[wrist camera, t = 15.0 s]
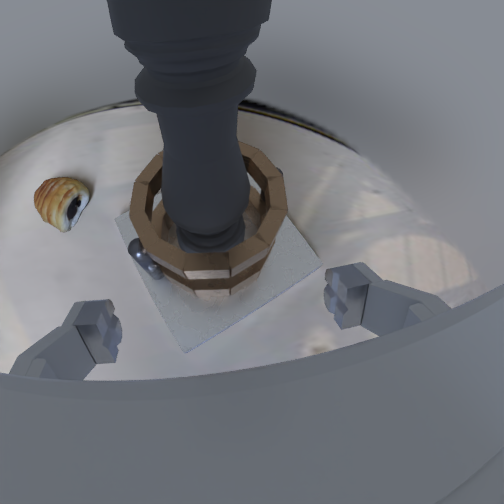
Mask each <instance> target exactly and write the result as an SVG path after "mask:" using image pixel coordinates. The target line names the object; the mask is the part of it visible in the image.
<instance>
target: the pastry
mask: <svg viewBox="0 0 504 504" xmlns="http://www.w3.org/2000/svg"><path fill="white" fill-rule="evenodd" d="M89 195H90V194H89V191H88V188H87V187H85V185H84V184H83V183H81V182H79V181H78V180H75V179H71V178H68V177H62V178H59V177H58V178H51V179H48V180H45V181H44V182H43V184H41V186H40V187H39V188H38V189H37V190H36V191H35V194H34V203H35V208H36V209H37V211H38V212H39V214H40V215H41V217H42V219H43V221H44V222H47V223H49V224H51V225H52V226H54V227H56V228H57V229H59V230H60V232H67V231H70V230H71V228H72V227H74V225H75V224H76V222H77V221H78V218H79V216H80V214H81V211H82V210H83V209H84V208H85V206H86V205H87V203H88V201H89Z"/></svg>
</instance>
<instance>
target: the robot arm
mask: <svg viewBox="0 0 504 504" xmlns="http://www.w3.org/2000/svg"><path fill="white" fill-rule="evenodd" d="M325 280H326V281H327V283H328V284H327V286H326V287H325V289H324V301H325V305H326V308H327V309H328V311H329V312H330V313H333V314H335V315H334V320H335V321H336V323H337V324H338V326H339V327H340V329H341V330H342V329H346V328H351V327H355V326H359V325H361V326H362V327H364V328H366V329H367V330H369V331H371V332H373V333H374V334H376V335H378V336H379V337H376V338H373V339H370V340H367V341H364V342H360V343H357V344H354V345H350V346H347V347H343V348H339V349H336V350H332V351H328V352H324V353H320V354H316V355H312V356H308V357H304V358H300V359H295V360H291V361H286V362H281V363H276V364H271V365H266V366H260V367H255V368H249V369H243V370H237V371H230V372H223V373H216V374H208V375H199V376H190V377H179V378H167V379H152V380H129V381H84V378H85V377H86V376H87V375H88V374H89V373H90V371H91V370H92V369H93V368H94V367H95V366H96V364H103V363H115V362H116V358H117V354H118V351H119V350H118V348H117V345H118V344H119V343H120V342H121V339H122V327H121V323H120V321H119V318H118V317H116V316H115V315H114V314H113V313H114V310H115V308H114V306H113V303H112V301H111V300H109V299H105V300H93V301H81V302H76V303H74V305H73V306H72V308H71V310H70V312H69V313H68V315H67V317H66V319H65V320H64V322H63V324H62V326H60V327H57V328H56V329H54V330H53V331H51V332H50V333H49V334H47V335H46V336H44V337H43V338H42V339H40V340H39V341H38V342H36V343H35V344H34V345H32V346H31V347H30V348H28V349H27V350H26V351H24V352H23V353H22V354H20V355H19V356H18V357H17V359H16V361H15V363H14V365H13V367H12V369H11V370H10V372H9V374H6V373H0V504H504V284H503V285H500V286H498V287H497V288H494V289H493V290H491V291H489V292H487V293H485V294H483V295H481V296H479V297H477V298H475V299H473V300H471V301H468V302H466V303H464V304H462V305H460V306H458V307H455V308H453V309H451V308H450V307H449V306H448V305H447V304H446V303H445V302H444V301H442V300H441V299H440V298H439V297H438V296H436V295H433V294H430V293H427V292H423V291H420V290H417V289H414V288H411V287H408V286H404V285H401V284H398V283H395V282H392V281H388V280H384V281H383V280H382V279H381V278H380V277H379V276H378V275H377V274H376V273H375V272H373V271H372V270H371V269H370V268H369V267H368V266H367V265H366V264H364V263H363V262H359V263H354V264H350V265H345V266H340V267H335V268H330V269H327V270H326V273H325Z"/></svg>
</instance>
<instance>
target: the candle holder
mask: <svg viewBox="0 0 504 504" xmlns="http://www.w3.org/2000/svg"><path fill="white" fill-rule="evenodd" d="M107 2H108V8H109V13H110V18H111V23H112V27H113V32H114V35H116V36H118V37H119V38H121V39H122V40H124V41H125V44H124V45H125V48H126V49H127V50H128V51H129V52H130V53H132V54H133V55H135V56H136V57H137V58H138V60H139V62H140V63H141V64H142V65H143V66H144V68H143V69H142V71H141V72H140V73H139V75H138V76H137V78H136V79H135V94H136V97H137V99H138V100H139V101H140V102H141V103H142V104H143V105H144V107H145V108H146V109H147V110H148V111H151V112H154V113H157V117H158V121H159V126H160V130H161V134H162V138H163V142H164V149H163V165H162V183H161V194H162V201H163V206H164V209H165V211H166V212H167V214H168V215H169V217H170V218H171V219H172V221H173V222H174V223H175V224H176V227H177V228H176V234H177V239H178V244H179V246H180V248H181V250H183V251H185V252H186V253H213V252H226V251H228V250H230V249H231V248H233V247H235V246H236V245H238V244H240V243H242V242H243V241H244V236H245V227H246V226H245V223H244V219H243V215H242V214H243V213H244V211H245V209H246V208H247V206H248V203H249V195H250V187H251V185H250V182H249V178H248V175H247V171H246V168H245V164H244V161H243V157H242V154H241V150H240V147H239V143H238V139H237V136H236V132H237V114H238V104H239V103H240V102H241V101H242V100H243V99H244V98H245V97H247V96H248V95H249V94H250V93H251V91H252V90H253V87H254V82H255V77H256V69H255V67H254V66H253V64H252V63H251V61H250V60H249V59H248V58H246V56H244V55H245V54H246V51H247V48H248V46H249V45H250V44H251V43H252V42H254V41H255V40H256V39H257V37H258V36H259V31H260V28H261V24H262V23H264V22H266V21H268V19H269V15H270V8H271V2H272V0H107Z"/></svg>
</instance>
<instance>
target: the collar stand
mask: <svg viewBox="0 0 504 504" xmlns="http://www.w3.org/2000/svg"><path fill="white" fill-rule="evenodd" d="M238 143H239V147H240V150H241V154H242V157H243V161H244V164H245V168H246V171H247V175H248V178H249V182H250V185H251V187H250V195H249V203H248V206H247V208H246V209H245V211H244V213H243V214H242V215H243V219H244V223H245V226H246V227H245V236H244V241H243V242H242V243H240V244H238V245H236V246H235V247H233V248H231V249H230V250H228V251H226V252H213V253H186V252H185V251H183V250H181V248H180V246H179V244H178V239H177V234H176V228H177V227H176V224H175V223H174V222H173V221H172V219H171V218H170V217H169V215H168V214H167V212H166V211H165V209H164V206H163V201H162V194H161V193H159V194H157V193H158V191H159V190H160V189H161V183H162V165H163V151H162V152H160V153H158V154H159V155H156V156H155V157H154V158H153V159H152V160H151V162H150V163H149V164H148V165H147V166H146V168H145V169H144V170H143V171H142V172H141V174H140V175H139V176H138V177H137V179H136V180H135V181H136V182H134V187H133V192H132V198H131V205H130V210H129V211H127V212H125V213H124V214H122V215H120V216H119V217H117V218H115V222H116V224H117V226H118V229H119V231H120V233H121V235H122V238H123V240H124V242H125V244H126V247H127V249H128V252H129V254H130V255H131V257H132V259H133V261H134V264H135V266H136V268H137V270H138V272H139V274H140V276H141V278H142V280H143V282H144V284H145V286H146V288H147V289H148V291H149V293H150V295H151V297H152V299H153V301H154V303H155V304H156V306H157V308H158V310H159V312H160V314H161V315H162V317H163V319H164V321H165V322H166V324H167V326H168V328H169V329H170V331H171V333H172V334H173V336H174V338H175V339H176V341H177V343H178V344H179V346H180V348H181V349H182V351H183V353H188V352H190V351H191V350H193V349H195V348H196V347H198V346H200V345H201V344H203V343H205V342H206V341H208V340H210V339H211V338H213V337H215V336H216V335H218V334H219V333H221V332H223V331H224V330H226V329H228V328H229V327H231V326H232V325H234V324H235V323H237V322H239V321H240V320H242V319H243V318H245V317H247V316H248V315H250V314H251V313H253V312H254V311H256V310H257V309H259V308H261V307H262V306H264V305H265V304H267V303H268V302H270V301H271V300H273V299H274V298H276V297H277V296H279V295H280V294H282V293H283V292H285V291H286V290H288V289H289V288H291V287H292V286H294V285H295V284H297V283H298V282H300V281H301V280H302V279H304V278H305V277H307V276H308V275H310V274H311V273H313V272H314V271H315V270H317V269H318V268H319V267H320V266H321V265H322V264H323V263H322V262H321V261H320V259H319V258H318V256H317V255H316V254H315V252H314V251H313V250H312V248H311V247H310V246H309V244H308V243H307V242H306V240H305V239H304V238H303V236H302V235H301V234H300V232H299V231H298V230H297V228H296V227H295V226H294V224H293V223H292V222H291V220H290V219H289V218H288V217H287V215H286V214H287V212H288V207H287V200H286V193H285V186H284V180H283V173H282V171H281V170H280V169H278V168H276V167H275V166H274V165H273V164H272V163H271V161H270V160H269V159H268V158H267V157H266V156H265V155H264V153H263V152H262V151H261V150H260V151H259V149H257V148H255V147H252V146H250V145H247V144H245V143H242V142H240V141H238ZM156 194H157V195H156Z"/></svg>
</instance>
